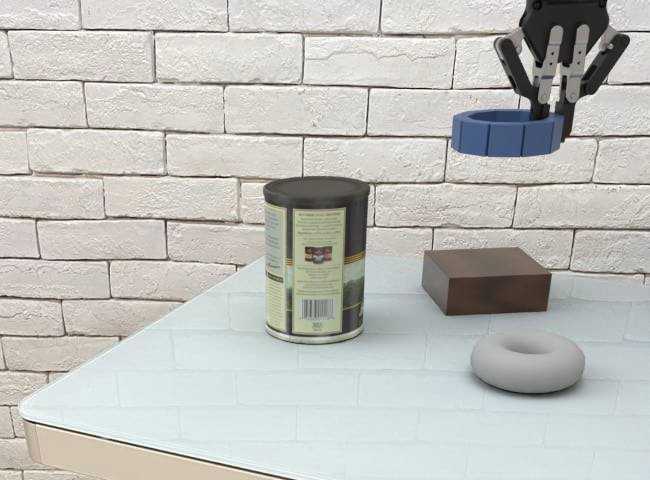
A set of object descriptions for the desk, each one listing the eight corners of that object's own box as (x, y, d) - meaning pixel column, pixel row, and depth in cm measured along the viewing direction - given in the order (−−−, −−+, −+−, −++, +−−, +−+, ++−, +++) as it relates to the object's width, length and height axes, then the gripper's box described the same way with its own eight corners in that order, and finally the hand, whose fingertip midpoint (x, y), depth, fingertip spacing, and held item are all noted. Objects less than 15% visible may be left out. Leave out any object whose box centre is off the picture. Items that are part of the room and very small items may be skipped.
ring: (537, 137, 103) (540, 106, 101) (573, 155, 94) (578, 122, 92) (441, 141, 102) (443, 110, 101) (468, 159, 93) (471, 126, 92)
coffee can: (331, 306, 105) (336, 171, 98) (382, 334, 97) (391, 189, 90) (247, 320, 102) (244, 181, 94) (292, 351, 94) (294, 201, 86)
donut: (602, 378, 87) (506, 349, 93) (610, 341, 85) (512, 314, 91) (544, 410, 81) (446, 377, 87) (550, 372, 79) (450, 341, 85)
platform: (514, 281, 112) (518, 246, 110) (546, 310, 103) (552, 273, 101) (421, 285, 111) (424, 250, 109) (445, 315, 102) (449, 278, 100)
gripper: (514, -56, 85) (493, 151, 95) (663, -61, 86) (628, 145, 95) (489, -55, 92) (472, 139, 101) (629, -60, 93) (599, 133, 102)
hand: (548, 141), depth 98 cm, fingers closed on ring, 1 cm apart
